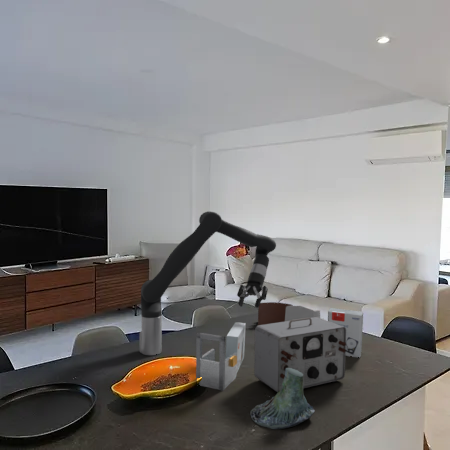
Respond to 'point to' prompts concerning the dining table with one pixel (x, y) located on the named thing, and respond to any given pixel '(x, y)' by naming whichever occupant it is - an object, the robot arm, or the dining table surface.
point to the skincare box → (236, 342)
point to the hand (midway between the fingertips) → (248, 306)
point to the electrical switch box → (300, 312)
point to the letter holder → (271, 312)
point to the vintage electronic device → (300, 351)
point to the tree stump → (284, 404)
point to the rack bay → (214, 364)
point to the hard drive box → (349, 328)
